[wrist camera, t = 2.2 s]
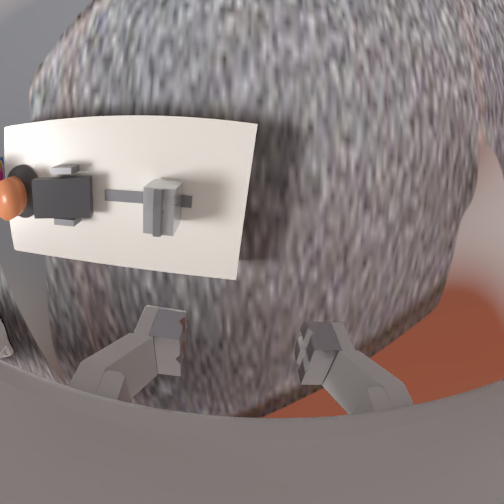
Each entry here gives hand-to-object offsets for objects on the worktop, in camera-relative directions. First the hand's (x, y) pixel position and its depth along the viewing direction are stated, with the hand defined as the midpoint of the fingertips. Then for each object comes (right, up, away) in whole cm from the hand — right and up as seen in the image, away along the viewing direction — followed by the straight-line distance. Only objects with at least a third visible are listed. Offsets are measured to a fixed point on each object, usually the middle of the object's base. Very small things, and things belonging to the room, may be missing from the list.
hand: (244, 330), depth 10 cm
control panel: (-13, +10, +16) cm, 23 cm away
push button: (-23, +8, +10) cm, 26 cm away
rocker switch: (-16, +8, +11) cm, 21 cm away
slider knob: (-7, +7, +13) cm, 16 cm away
